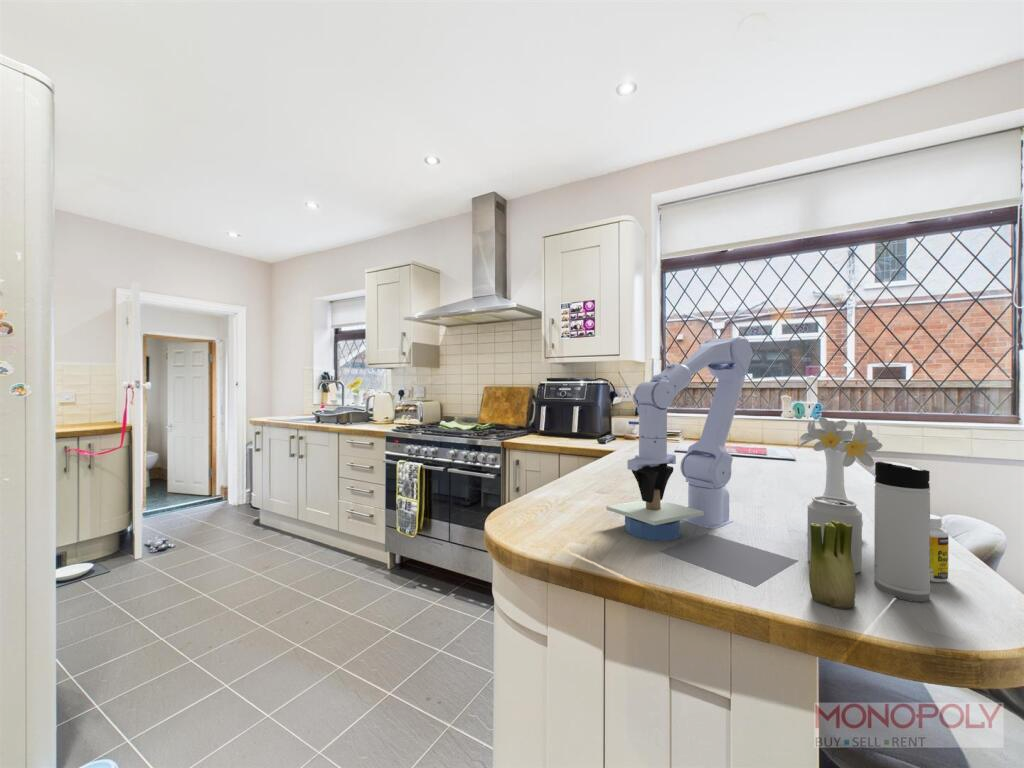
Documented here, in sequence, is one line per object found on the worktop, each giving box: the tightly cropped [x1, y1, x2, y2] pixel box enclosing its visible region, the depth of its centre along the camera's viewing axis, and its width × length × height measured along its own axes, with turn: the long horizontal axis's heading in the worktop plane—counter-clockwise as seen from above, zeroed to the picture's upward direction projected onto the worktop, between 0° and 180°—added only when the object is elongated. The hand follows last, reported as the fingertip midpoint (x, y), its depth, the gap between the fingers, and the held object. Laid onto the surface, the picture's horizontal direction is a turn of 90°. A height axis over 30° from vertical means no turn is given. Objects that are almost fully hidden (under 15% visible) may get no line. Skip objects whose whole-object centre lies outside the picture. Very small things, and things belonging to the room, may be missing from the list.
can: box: [806, 495, 863, 575], centre depth 72 cm, size 8×8×12 cm
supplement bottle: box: [930, 513, 949, 583], centre depth 70 cm, size 6×6×10 cm
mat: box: [659, 533, 799, 588], centre depth 76 cm, size 17×17×1 cm
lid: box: [605, 489, 704, 525], centre depth 89 cm, size 14×14×5 cm
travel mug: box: [873, 461, 931, 603], centre depth 64 cm, size 6×7×20 cm
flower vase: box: [796, 416, 883, 528], centre depth 89 cm, size 13×18×25 cm
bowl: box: [624, 516, 681, 542], centre depth 89 cm, size 11×11×4 cm
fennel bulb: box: [808, 521, 857, 610], centre depth 60 cm, size 6×5×12 cm
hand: (652, 500), depth 89 cm, fingers closed on lid, 3 cm apart
